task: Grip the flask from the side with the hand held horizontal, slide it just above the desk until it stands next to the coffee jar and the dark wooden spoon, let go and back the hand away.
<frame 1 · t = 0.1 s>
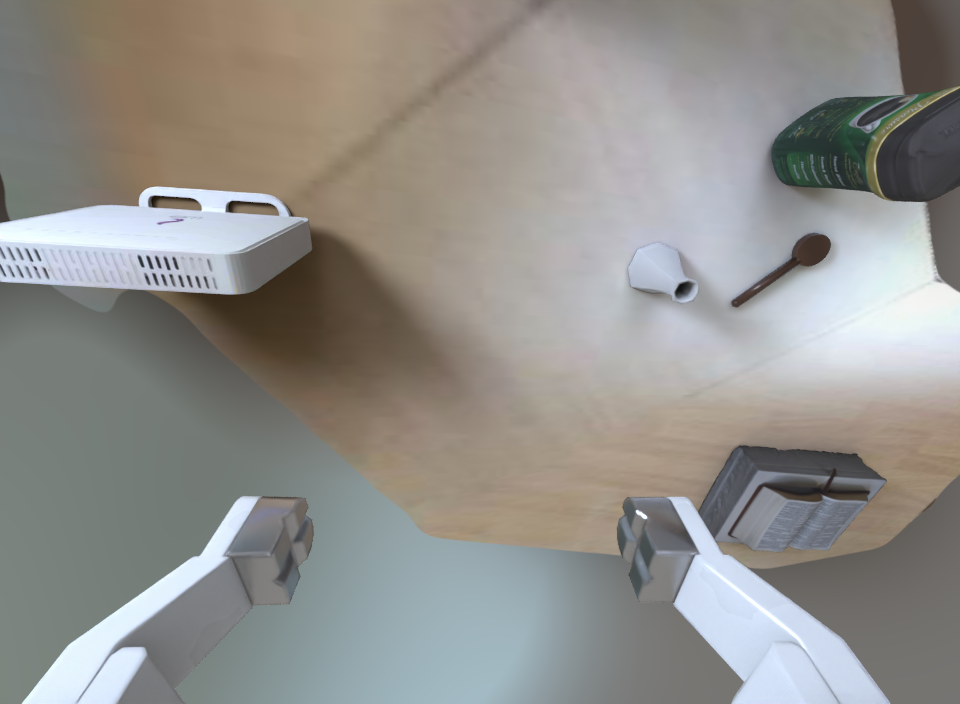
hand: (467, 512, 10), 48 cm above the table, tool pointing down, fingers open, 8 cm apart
network device: (221, 225, 53), on the table
coffee jar: (807, 143, 50), on the table
bible: (772, 484, 78), on the table
flask: (651, 267, 57), on the table
wooden spoon: (778, 269, 57), on the table
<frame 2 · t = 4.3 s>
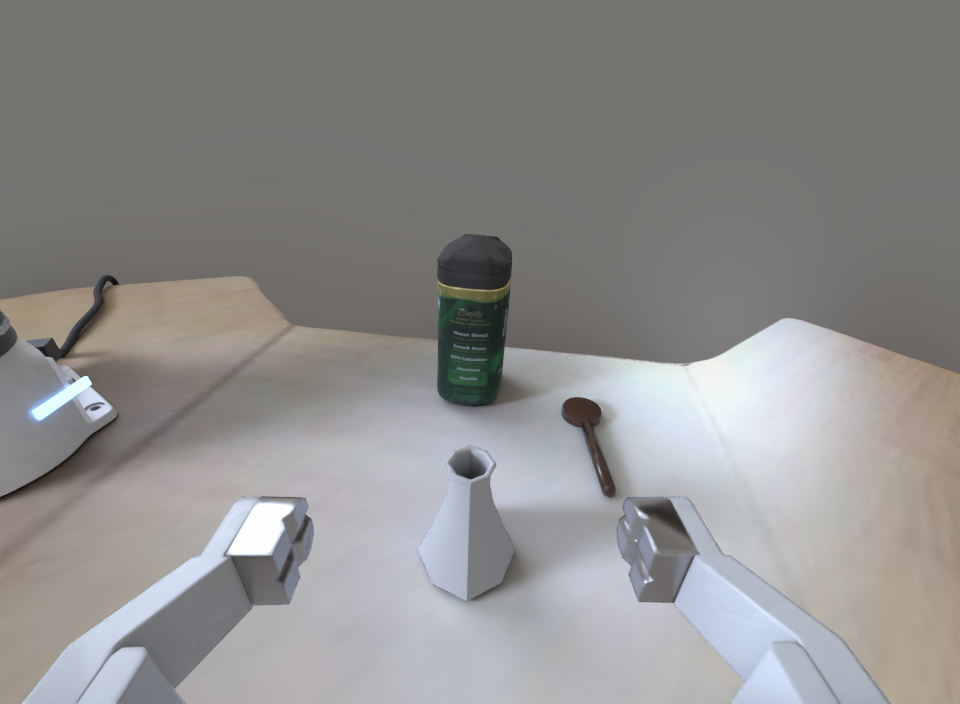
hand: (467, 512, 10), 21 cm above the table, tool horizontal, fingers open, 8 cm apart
coffee jar: (470, 386, 51), on the table
flask: (466, 553, 32), on the table
wooden spoon: (589, 441, 43), on the table
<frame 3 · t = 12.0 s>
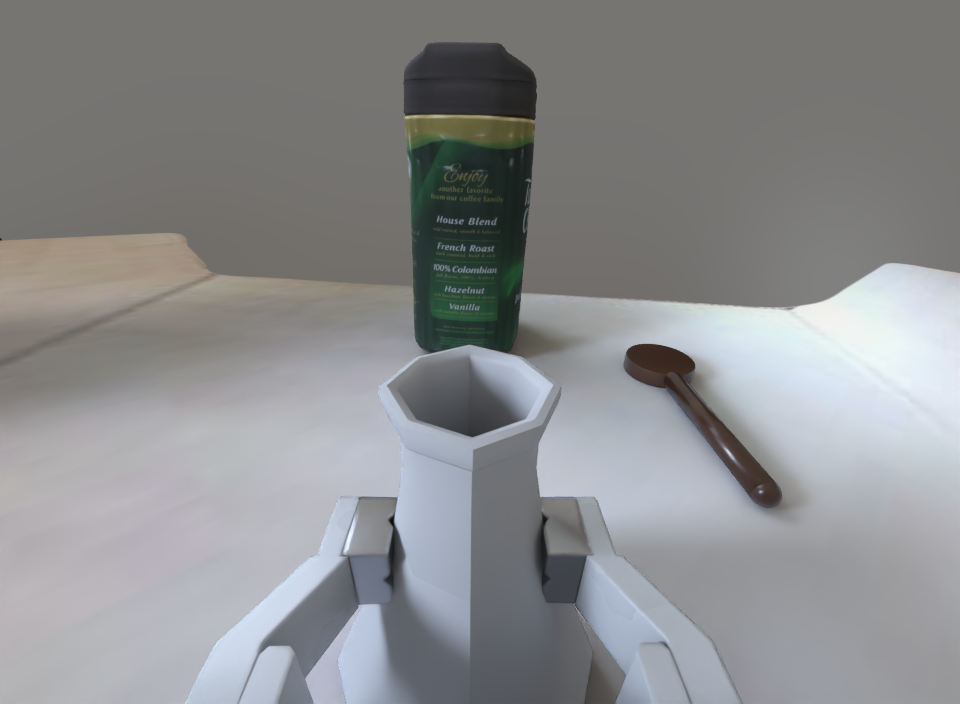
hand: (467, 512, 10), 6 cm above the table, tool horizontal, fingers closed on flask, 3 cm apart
coffee jar: (469, 337, 32), on the table
flask: (467, 664, 12), on the table, touching gripper
wooden spoon: (685, 407, 24), on the table
when the fingers open (5 cm above the table, at t = 16.7 s): flask stays where it is, on the table.
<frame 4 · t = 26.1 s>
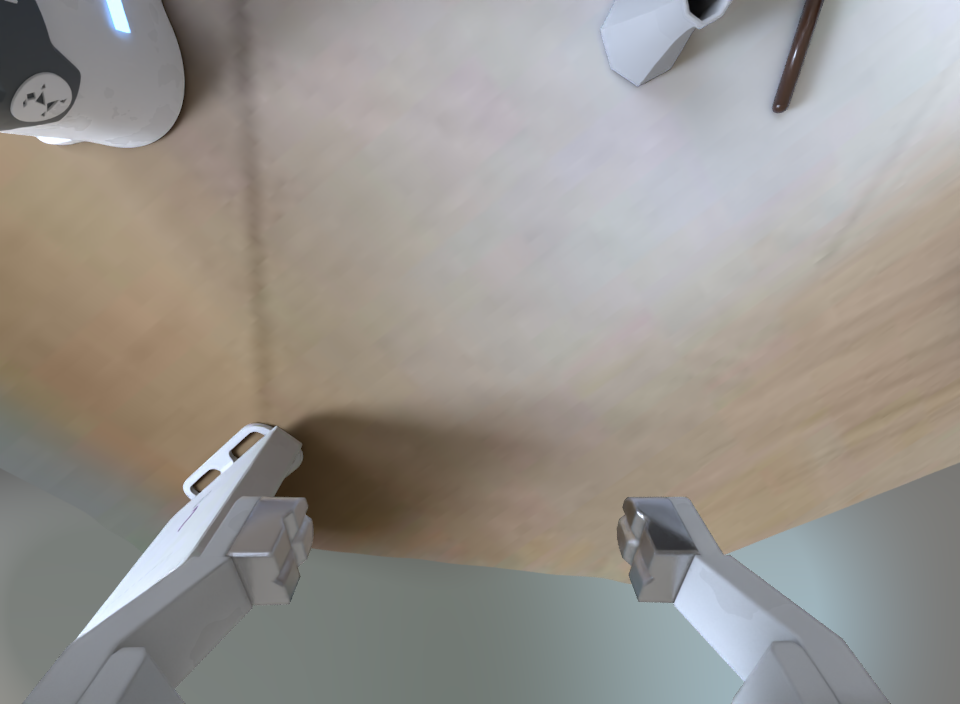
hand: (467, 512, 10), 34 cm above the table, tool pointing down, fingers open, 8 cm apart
network device: (244, 470, 55), on the table
flask: (644, 31, 33), on the table
wooden spoon: (808, 4, 32), on the table
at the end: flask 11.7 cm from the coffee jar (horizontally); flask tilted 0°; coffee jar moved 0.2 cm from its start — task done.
